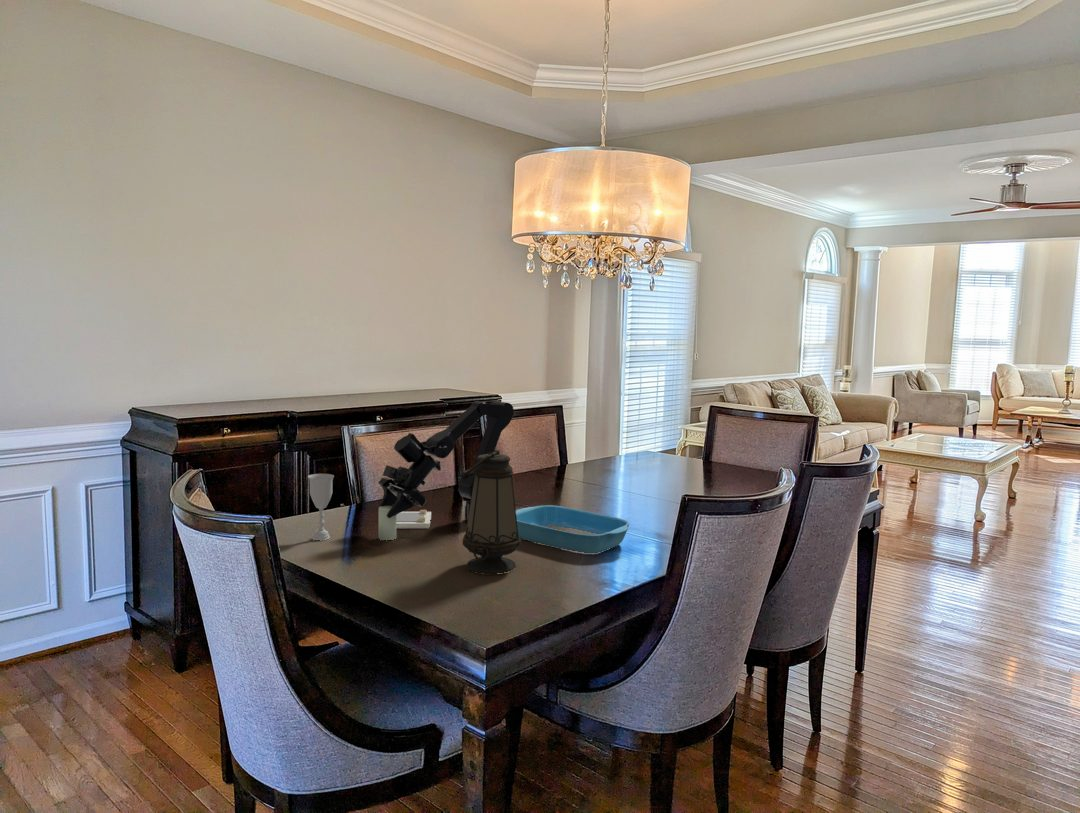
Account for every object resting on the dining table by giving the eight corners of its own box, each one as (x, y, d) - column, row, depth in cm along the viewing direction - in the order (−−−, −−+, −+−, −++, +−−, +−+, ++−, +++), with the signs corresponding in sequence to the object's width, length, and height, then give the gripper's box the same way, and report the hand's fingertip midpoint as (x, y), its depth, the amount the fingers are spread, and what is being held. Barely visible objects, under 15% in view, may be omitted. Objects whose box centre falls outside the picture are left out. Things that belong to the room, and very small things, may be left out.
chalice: (339, 537, 208) (339, 475, 206) (325, 543, 202) (324, 479, 200) (317, 533, 210) (317, 472, 208) (302, 540, 204) (302, 477, 202)
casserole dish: (494, 537, 213) (495, 513, 212) (540, 522, 231) (541, 500, 230) (601, 565, 191) (602, 538, 190) (643, 546, 209) (644, 522, 208)
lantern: (509, 582, 176) (512, 459, 173) (450, 574, 180) (452, 455, 176) (529, 559, 194) (533, 447, 190) (475, 552, 197) (478, 443, 194)
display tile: (431, 516, 233) (431, 508, 233) (429, 528, 220) (429, 520, 219) (386, 516, 232) (386, 508, 231) (382, 528, 218) (382, 520, 218)
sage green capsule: (400, 538, 209) (400, 507, 208) (387, 542, 205) (387, 510, 204) (387, 535, 211) (387, 504, 210) (374, 538, 207) (374, 508, 206)
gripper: (384, 450, 215) (349, 491, 209) (417, 460, 201) (380, 504, 195) (407, 473, 221) (374, 514, 215) (441, 484, 207) (406, 528, 201)
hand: (383, 515), depth 206 cm, fingers closed on sage green capsule, 5 cm apart
